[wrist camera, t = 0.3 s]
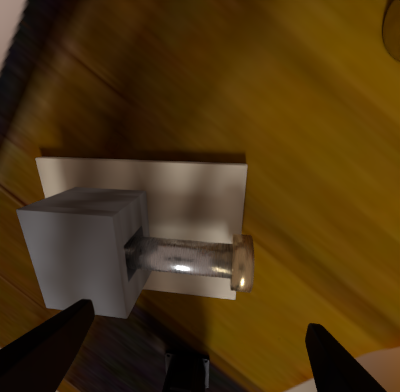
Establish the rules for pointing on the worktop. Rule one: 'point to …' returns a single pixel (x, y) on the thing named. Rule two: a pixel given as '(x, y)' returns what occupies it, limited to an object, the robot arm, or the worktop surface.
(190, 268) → the shaft
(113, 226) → the bearing block
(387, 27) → the beer glass
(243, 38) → the worktop surface
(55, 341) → the robot arm
